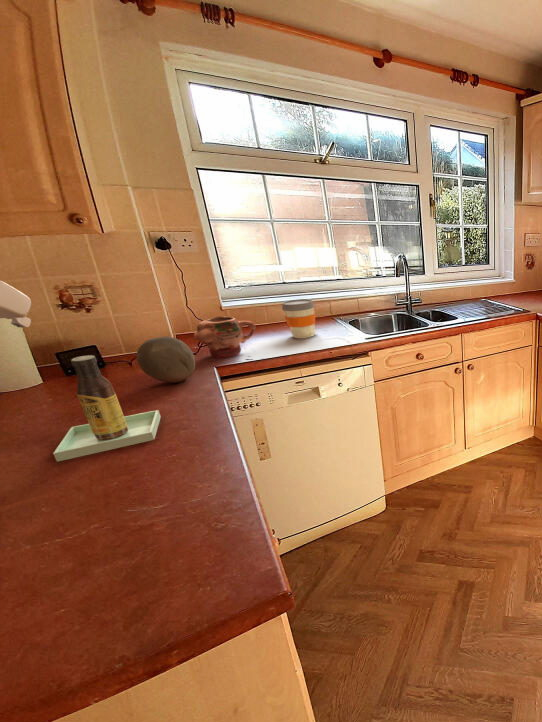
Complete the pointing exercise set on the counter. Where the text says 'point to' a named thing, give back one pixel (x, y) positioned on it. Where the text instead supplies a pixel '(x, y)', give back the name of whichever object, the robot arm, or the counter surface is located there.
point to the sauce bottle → (98, 400)
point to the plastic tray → (86, 443)
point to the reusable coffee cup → (300, 317)
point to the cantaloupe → (166, 359)
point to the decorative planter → (223, 335)
